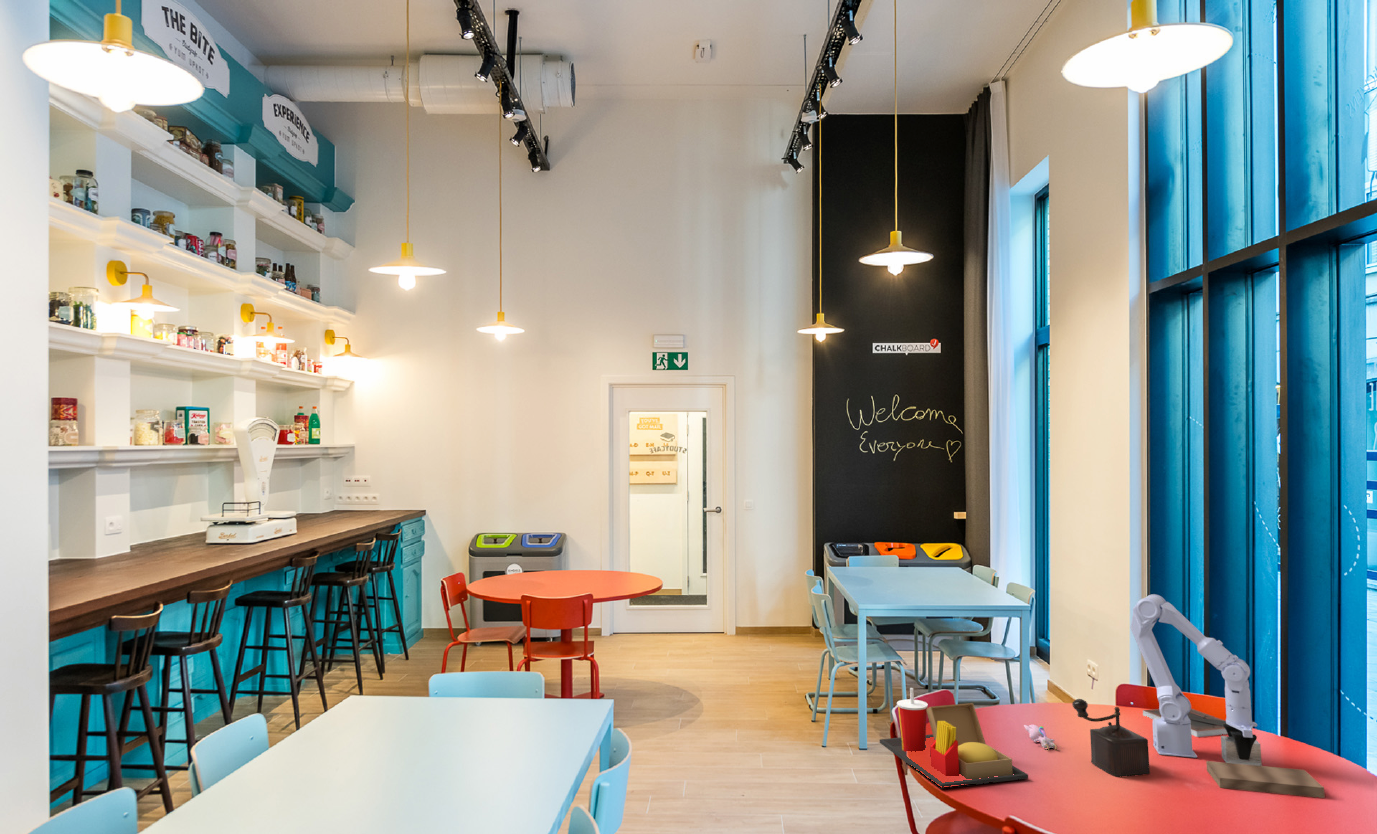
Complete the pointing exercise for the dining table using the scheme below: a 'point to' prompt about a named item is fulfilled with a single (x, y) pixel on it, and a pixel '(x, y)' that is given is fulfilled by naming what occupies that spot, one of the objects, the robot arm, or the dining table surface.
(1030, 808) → the dining table surface
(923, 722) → the fast food meal
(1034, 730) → the unicorn plush toy
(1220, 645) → the robot arm
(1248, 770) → the walnut plinth
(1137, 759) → the dark brown coffee grinder
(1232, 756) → the aluminium block
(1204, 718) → the picture frame
